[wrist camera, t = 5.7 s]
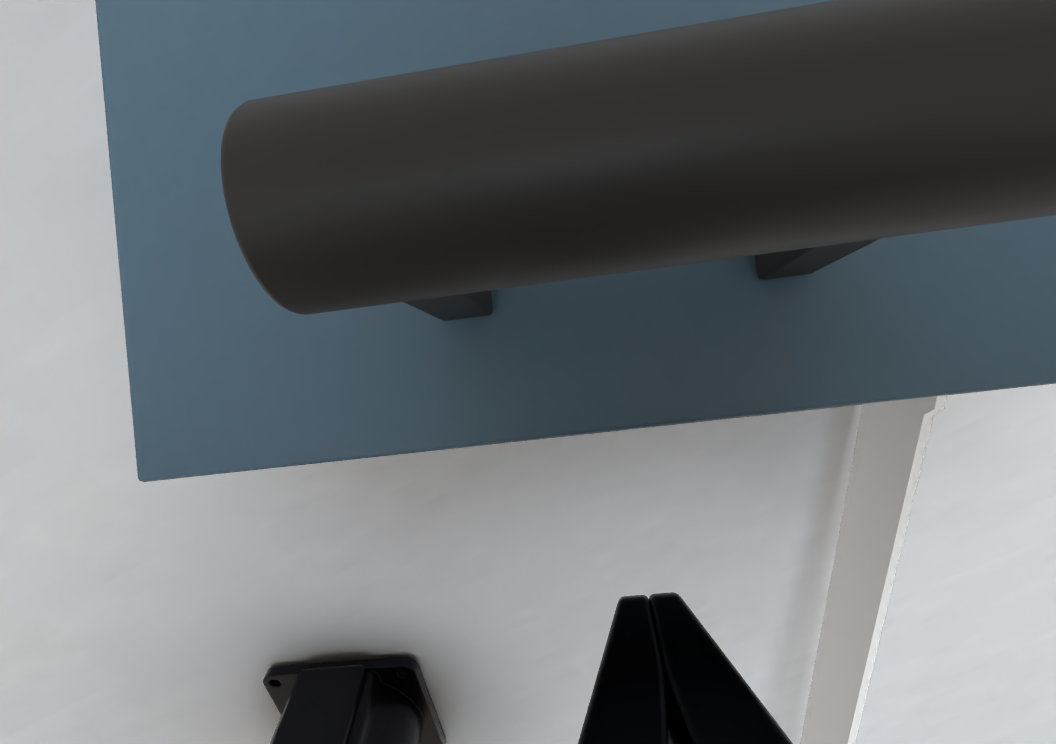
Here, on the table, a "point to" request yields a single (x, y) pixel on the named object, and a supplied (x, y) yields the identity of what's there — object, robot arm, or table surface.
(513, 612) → the table surface
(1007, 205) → the lid
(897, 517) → the white guitar
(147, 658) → the table surface
